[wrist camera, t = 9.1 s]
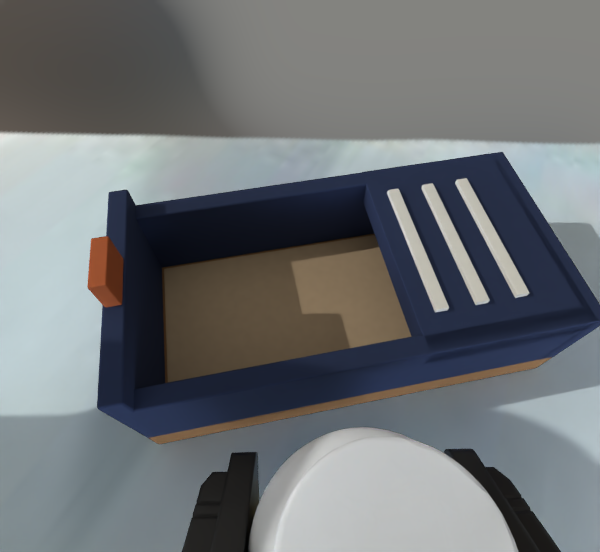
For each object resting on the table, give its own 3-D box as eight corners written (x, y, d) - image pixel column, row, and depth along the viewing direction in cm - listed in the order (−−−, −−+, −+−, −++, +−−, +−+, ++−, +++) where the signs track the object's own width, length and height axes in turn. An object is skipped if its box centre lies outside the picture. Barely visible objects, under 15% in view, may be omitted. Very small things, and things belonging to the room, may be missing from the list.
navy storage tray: (158, 444, 18) (74, 397, 11) (154, 273, 23) (93, 166, 16) (537, 368, 20) (658, 287, 13) (463, 223, 25) (526, 108, 18)
